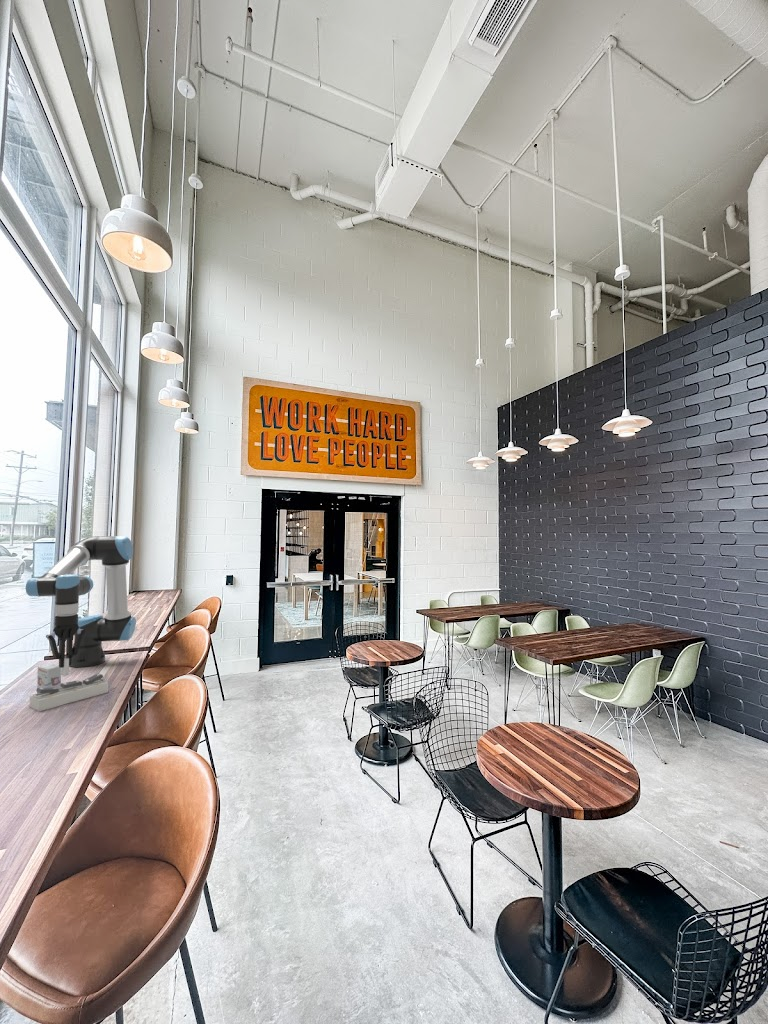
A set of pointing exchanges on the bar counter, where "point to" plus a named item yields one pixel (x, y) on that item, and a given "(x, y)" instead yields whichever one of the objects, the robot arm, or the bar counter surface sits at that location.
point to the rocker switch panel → (67, 695)
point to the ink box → (49, 676)
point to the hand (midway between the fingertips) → (64, 674)
